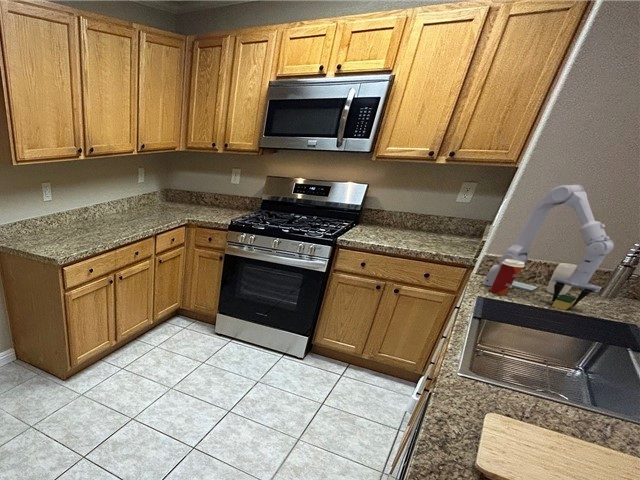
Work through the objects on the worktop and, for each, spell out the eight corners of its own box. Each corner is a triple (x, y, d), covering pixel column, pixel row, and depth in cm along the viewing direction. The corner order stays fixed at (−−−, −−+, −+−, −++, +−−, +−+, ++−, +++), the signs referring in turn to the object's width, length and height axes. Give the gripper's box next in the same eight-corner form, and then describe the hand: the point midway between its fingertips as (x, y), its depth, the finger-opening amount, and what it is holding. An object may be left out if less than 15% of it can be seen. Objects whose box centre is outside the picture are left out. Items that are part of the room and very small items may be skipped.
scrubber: (565, 310, 169) (571, 300, 166) (551, 306, 172) (557, 297, 169) (570, 306, 172) (576, 297, 170) (556, 303, 175) (562, 294, 173)
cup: (564, 291, 188) (581, 265, 181) (571, 297, 181) (589, 270, 174) (540, 287, 191) (555, 261, 184) (545, 293, 184) (562, 267, 178)
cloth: (502, 283, 194) (503, 282, 193) (508, 281, 197) (509, 279, 197) (530, 291, 186) (531, 290, 186) (537, 288, 190) (537, 286, 190)
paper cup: (508, 297, 179) (526, 265, 171) (486, 292, 183) (503, 261, 175) (508, 292, 184) (525, 261, 177) (487, 288, 188) (503, 257, 180)
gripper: (557, 267, 166) (538, 299, 174) (606, 278, 157) (583, 311, 164) (563, 265, 170) (543, 296, 177) (611, 275, 160) (588, 307, 167)
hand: (563, 303), depth 171 cm, fingers open, 6 cm apart
